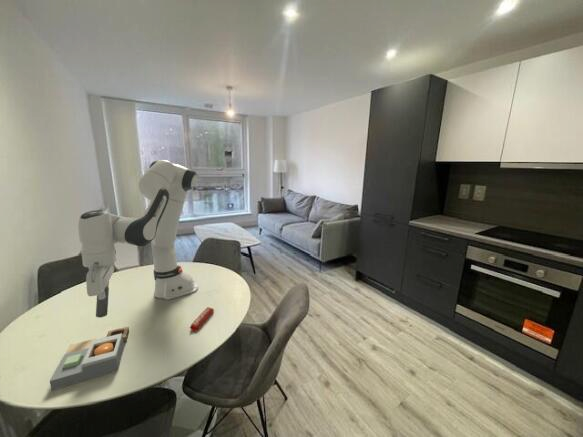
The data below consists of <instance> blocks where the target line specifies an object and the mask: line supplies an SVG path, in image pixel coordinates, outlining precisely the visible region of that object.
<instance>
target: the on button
mask: <svg viewBox="0 0 583 437" xmlns="http://www.w3.org/2000/svg"><path fill="white" fill-rule="evenodd" d="M81 361H82V354H77V355H73V356H70V357H67V359H66V361H65V363H64V369H67V368H70V367H74V366H77V365H80V363H81Z"/></svg>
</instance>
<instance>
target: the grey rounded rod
mask: <svg viewBox="0 0 583 437" xmlns="http://www.w3.org/2000/svg"><path fill="white" fill-rule="evenodd" d="M105 292H106V297H105V299H101V300H99V299H98V295H96V306H95V318H104V317H107V316H108V307H109V293H110V287H105Z"/></svg>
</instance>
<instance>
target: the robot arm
mask: <svg viewBox="0 0 583 437" xmlns="http://www.w3.org/2000/svg"><path fill="white" fill-rule="evenodd" d="M197 181H198V175H197V172H196V171H195V170H193V169H192V168H188V167H186V166H183V165H180V164H176V163H172V162H171V161H169V160H167V159H155V160H154V161H152V162H151V163H150V165H149V168H148V169H147V170H146V171H145V172H144V174H143V175H142V176H141V177H140V179H139V180H138V190H139V191H140V193H141V194H142V195H143V197H145V198H146V199H148V200H149V201H150V202H149V204H148V206H147V207H146V210H145V212H144V214H142V215H141V216H139V217H131V216H130V217H128V216H121V215H117V214H113V213H111V212H109V211H108V210H106V209H96V210H90V211H89V210H88V211H86V212H84V213H82V214H81V215H80V216H79V219H78V226H77V227H78V238H79V242H80V243H81V250H80V253H81V261H82V266H83V267H85V268H88V272H87V273H86V278H85V281H86V293H87V295H88V296H89V297H94V296H96V297H97V295H98V299H99V300H101V299H105V297H106V292H105V287H109V285H110V280H111V278H112V276H113V274H114V272H115V264H116V263H115V262H116V261H117V256H116V254H117V250H116V248H115V247H116V246H115V244H117V243H121V244H128V245H131V246H136V247H144V246H147V245H148V244H150V245H151V252H152V253H151V254H152V260H153V262H152V263H153V279H154V283H155V284H154V292H153V296H154V297H155V298H158V299H162V300H166V301H170V300H172V299H175V298H178V297H182V296H186V295H188V294H189V295H190V294H192V293H195V292H197V290H198V288H199V284H198V282H197V281H196V280H194V279H193V277H192V276H191V274H189V273H187V272H184V271H183V268H182V266H181V265H180V264H179V265H178V262H177V253H176V248H175V246H176V245H175V242H176V238H177V234H178V230H179V225H180V218H181V214H182V211H183V207H184V204H185V201H186V197H187V192H188V191H190V190H193V188H194V187H195V186H196V185H197V183H198V182H197ZM109 288H110V287H109Z"/></svg>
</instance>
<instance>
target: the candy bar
mask: <svg viewBox="0 0 583 437" xmlns="http://www.w3.org/2000/svg"><path fill="white" fill-rule="evenodd" d="M214 310H215V309H214V308H213V307H209V306H208V307H206V308H204V310H202V312H201V313H200V314H199V315H198V316H197V317H196V318H195V320H194V321H193V322H192V323H191V325H190V327H189V329H191V330H192V331H193V332H197V331H198V330H199V329H200V328H201V327H202V326H203V325H204V323H205V322H206V321H207V320H208V318H209V317H211V315H212V314H213V313H214Z"/></svg>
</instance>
